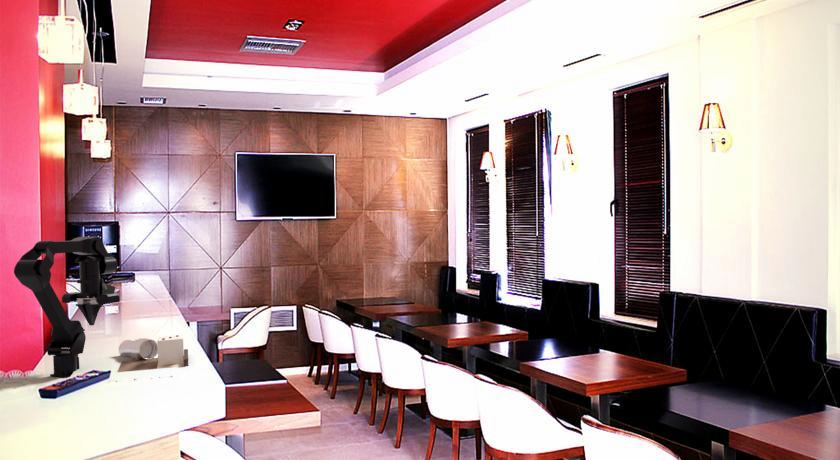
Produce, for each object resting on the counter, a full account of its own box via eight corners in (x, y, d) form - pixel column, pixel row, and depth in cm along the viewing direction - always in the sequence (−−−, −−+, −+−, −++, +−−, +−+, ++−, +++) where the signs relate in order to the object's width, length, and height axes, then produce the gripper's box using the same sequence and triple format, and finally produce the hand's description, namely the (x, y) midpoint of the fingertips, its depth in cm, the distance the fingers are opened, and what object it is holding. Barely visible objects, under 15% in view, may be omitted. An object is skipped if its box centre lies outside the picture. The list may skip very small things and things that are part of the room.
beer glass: (141, 351, 241) (163, 351, 231) (124, 363, 236) (145, 364, 226) (130, 334, 239) (152, 333, 229) (113, 346, 234) (134, 347, 224)
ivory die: (158, 365, 218) (157, 339, 218) (158, 360, 225) (158, 335, 225) (183, 362, 220) (183, 337, 220) (183, 358, 227) (183, 333, 227)
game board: (117, 376, 209) (116, 365, 209) (122, 364, 227) (121, 354, 226) (188, 369, 216) (188, 359, 216) (188, 358, 233) (187, 349, 233)
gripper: (131, 274, 229) (133, 322, 229) (88, 273, 236) (89, 320, 236) (104, 277, 218) (106, 327, 219) (59, 276, 225) (61, 325, 226)
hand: (91, 325), depth 225 cm, fingers closed
